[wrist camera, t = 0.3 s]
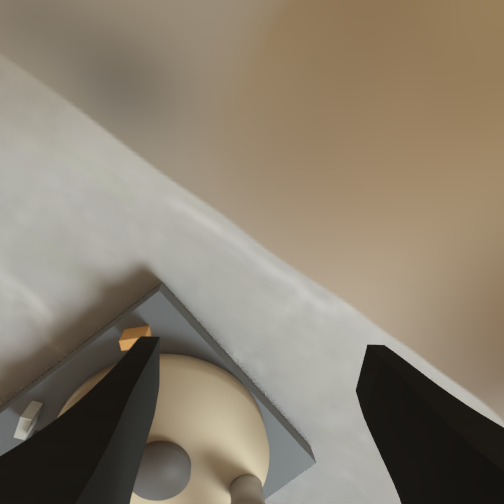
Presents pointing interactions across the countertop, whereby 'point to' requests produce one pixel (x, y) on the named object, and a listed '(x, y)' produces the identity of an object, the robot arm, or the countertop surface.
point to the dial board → (171, 342)
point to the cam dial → (198, 437)
